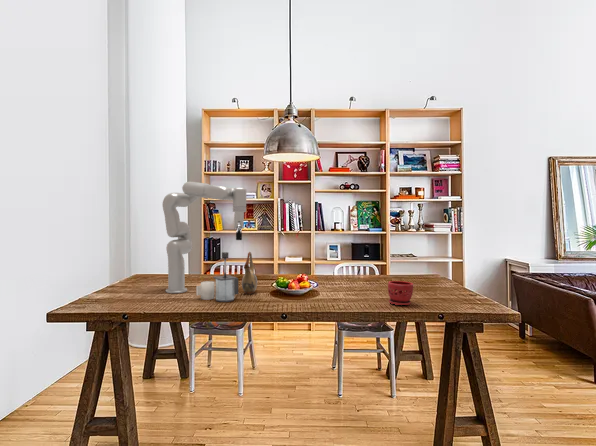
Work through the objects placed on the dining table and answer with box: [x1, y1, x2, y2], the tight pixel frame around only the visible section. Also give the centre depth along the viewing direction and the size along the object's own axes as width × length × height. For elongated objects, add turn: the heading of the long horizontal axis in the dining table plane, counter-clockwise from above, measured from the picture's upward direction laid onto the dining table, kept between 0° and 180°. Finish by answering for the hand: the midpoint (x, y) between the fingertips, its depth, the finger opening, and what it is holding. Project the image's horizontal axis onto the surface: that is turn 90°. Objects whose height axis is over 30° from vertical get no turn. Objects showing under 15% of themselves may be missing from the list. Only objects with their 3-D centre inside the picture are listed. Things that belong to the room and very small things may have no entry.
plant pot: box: [387, 280, 414, 306], centre depth 215 cm, size 13×13×12 cm
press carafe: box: [212, 274, 239, 303], centre depth 223 cm, size 10×13×13 cm
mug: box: [195, 280, 215, 301], centre depth 226 cm, size 8×10×9 cm
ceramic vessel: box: [241, 251, 258, 295], centre depth 240 cm, size 16×9×25 cm, turn 172°
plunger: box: [221, 251, 229, 278], centre depth 221 cm, size 7×7×16 cm
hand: (238, 239), depth 229 cm, fingers open, 9 cm apart
